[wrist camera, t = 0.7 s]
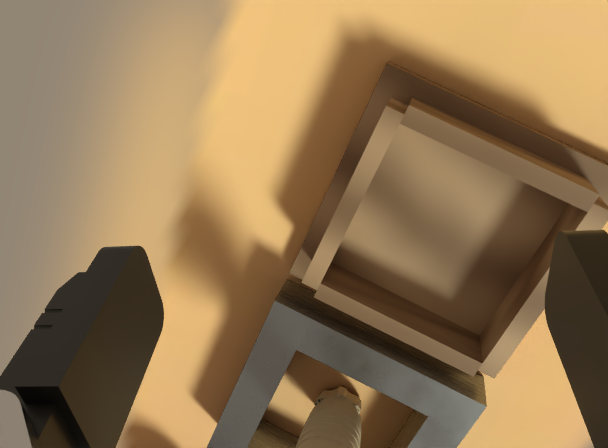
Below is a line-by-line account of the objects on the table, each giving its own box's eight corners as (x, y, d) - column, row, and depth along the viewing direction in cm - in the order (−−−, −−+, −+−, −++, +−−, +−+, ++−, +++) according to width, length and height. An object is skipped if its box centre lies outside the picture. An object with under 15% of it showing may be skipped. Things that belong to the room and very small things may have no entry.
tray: (388, 61, 31) (380, 68, 27) (627, 172, 30) (652, 195, 26) (293, 267, 36) (276, 295, 33) (491, 365, 36) (496, 405, 32)
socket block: (287, 279, 37) (274, 300, 34) (483, 376, 36) (486, 406, 33) (219, 426, 43) (203, 454, 40) (387, 513, 42) (383, 548, 39)
